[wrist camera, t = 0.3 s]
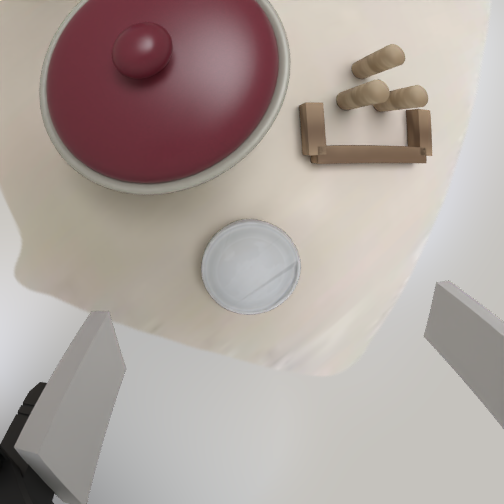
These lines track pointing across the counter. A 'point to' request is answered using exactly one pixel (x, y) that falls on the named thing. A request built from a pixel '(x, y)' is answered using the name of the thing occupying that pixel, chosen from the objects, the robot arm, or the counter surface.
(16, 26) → the counter surface
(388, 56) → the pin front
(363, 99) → the pin
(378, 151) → the rail
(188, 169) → the canister
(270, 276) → the ramekin
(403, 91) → the pin
